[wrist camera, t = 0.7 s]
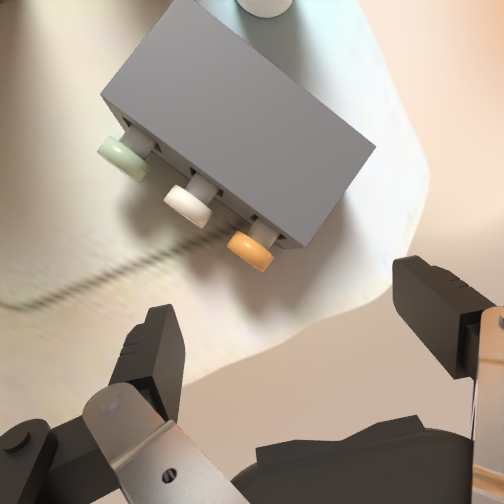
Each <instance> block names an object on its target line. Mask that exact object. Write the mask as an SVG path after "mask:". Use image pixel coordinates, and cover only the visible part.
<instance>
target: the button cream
mask: <svg viewBox="0 0 504 504" xmlns="http://www.w3.org/2000/svg"><path fill="white" fill-rule="evenodd" d="M219 189H220V188H219V187H217V186H216V185H215V184H213V183H212V182H211V181H209V180H208V179H207V178H205V177H204V176H202V175H201V174H200V173H198V172H196V173H195V175H194V176H193V178H192V179H191V180H190V182H189V183H188V184H187V186H186V187H185V188H184V189H183V188H181V187H179V186H177V185H174V186H173V188H172V189H171V190H170V192H169V193H168V194H167V196H166V197H165V198H164V200H163V201H164V202H165V203H167V204H168V205H169V206H170V207H172V208H173V209H174V210H176V211H177V212H178V213H180V214H181V215H182V216H184V217H185V218H186V219H188V220H189V221H191V222H192V223H194V224H195V225H197V226H198V227H200V228H201V229H202V228H203V227H204V226H205V224H206V223H207V222H208V220H209V219H210V218H211V216H212V215H213V212H212V211H211V210H210V209H209V208H208V207H207V206H208V204H209V203H210V202H211V200H212V199H213V198H214V196H215V195H216V193H217V192H218V191H219Z"/></svg>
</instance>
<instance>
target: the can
mask: <svg viewBox="0 0 504 504" xmlns="http://www.w3.org/2000/svg"><path fill="white" fill-rule="evenodd" d="M237 1H238V3H239V4H240V5H241V6H242V7H243V8H244V9H245V10H246V11H247V12H249V13H251V14H253V15H255V16H258V17H264V18H269V17H275V16H278V15H280V14H282V13H283V12H285V11H286V10H287V9H288V8H289V7H290V5H291V3H292V1H293V0H237Z"/></svg>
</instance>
